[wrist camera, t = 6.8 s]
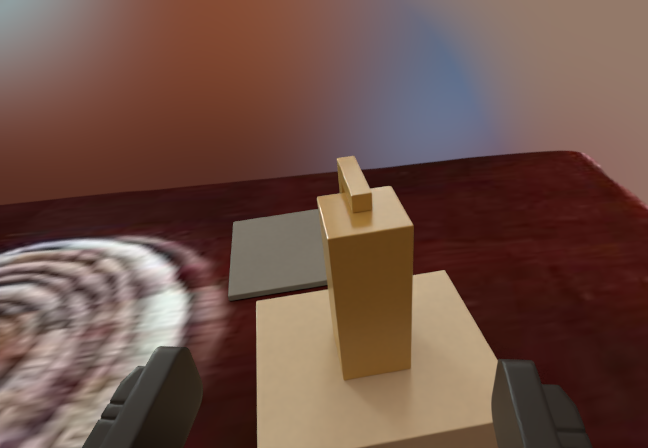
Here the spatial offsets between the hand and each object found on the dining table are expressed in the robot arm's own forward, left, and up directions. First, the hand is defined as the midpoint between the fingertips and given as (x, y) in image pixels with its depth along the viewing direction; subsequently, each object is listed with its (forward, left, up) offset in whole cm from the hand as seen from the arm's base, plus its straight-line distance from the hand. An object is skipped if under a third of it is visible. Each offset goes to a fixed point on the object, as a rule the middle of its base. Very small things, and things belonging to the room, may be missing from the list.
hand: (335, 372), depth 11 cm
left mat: (+1, +28, -16) cm, 32 cm away
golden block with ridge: (+3, +12, -12) cm, 17 cm away
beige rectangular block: (+3, +11, -16) cm, 19 cm away
